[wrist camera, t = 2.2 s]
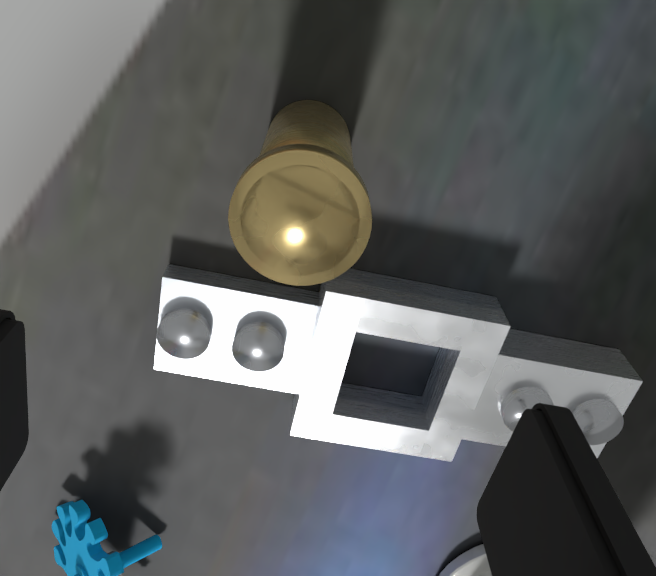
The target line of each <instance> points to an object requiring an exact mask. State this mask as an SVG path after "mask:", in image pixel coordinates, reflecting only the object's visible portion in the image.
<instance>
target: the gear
mask: <svg viewBox="0 0 656 576" xmlns="http://www.w3.org/2000/svg"><path fill="white" fill-rule="evenodd" d="M57 513H58V516H59V519H57V520H54V521H53V523H52V530H53V533H54V535H55V536H56V538H57V539H58V541H59V543H60V544H59V545H57V546H55V547H54V556H55V560H56V562H57V564H58V565H60V566H61V567H62V568H63V569H64V570H65V572H66V573H67V575H68V576H122V573H123V572H124V569H123V568H125V567H127V566H129V565H131V564H133V563H135V562H137V561H138V560H140V559H142V558H144V557H146V556H148V555H150V554H152V553H154V552H156V551H158V550H159V549H161V548H162V542H161V539H160V537H159V536H158V535H154V536H152V537H150V538H148V539H146V540H144V541H142V542H140V543H138V544H136V545H134V546H132V547H130V548H128V549H126V550H124V551H122V552H120V553H118V552H115V551H112V552H110V553H108V554H107V553H106V552H104V551H103V549H102V548H101V545H100V541H102V540H104V539H106V538H107V537H108V533H107V530H106V527H105V525H104V523H103V521H102V519H101V518H98V519H96V520H94V521H91V522H89V523H87V520H88V519H89V518H90V516H91V513H90V508H89V507H88V505H87V504H86V503H85V502H84V501H83V500H80V501H77V502H75V503H74V502H73V501H70V502H67V503H65V504H62V505H60V506H57Z"/></svg>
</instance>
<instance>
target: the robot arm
mask: <svg viewBox="0 0 656 576" xmlns="http://www.w3.org/2000/svg"><path fill="white" fill-rule="evenodd" d="M28 434H29V429H28V404H27V378H26V353H25V329H24V324H23V322H21V321H16V320H15V316H14V314H13V312H11V311H7V310H1V309H0V491H1V489H2V487H3V486H4V484H5V482H6V481H7V479H8V478H9V476H10V474H11V473H12V471H13V469H14V468H15V466H16V464H17V463H18V461H19V459H20V458H21V456H22V454H23V452H24V450H25V448H26V445H27V441H28ZM477 522H478V526H479V529H480V533H481V537H482V541H483V544H481V545H479V546H476V547H474V548H472V549H470V550H468V551H466V552H464V553H463V554H461V555H459V556H458V557H457V558H456V559H454V560H453V561H452V562H450V563H449V564H448V565H447V566H446V567H445V569H444V570H443V571H442V572H441V573H440V575H439V576H656V567H655V566H654V564H653V562H652V560H651V558H650V556H649V554H648V553H647V551H646V549H645V547H644V545H643V543H642V541H641V540H640V538H639V536H638V534H637V532H636V530H635V529H634V527H633V525H632V523H631V521H630V519H629V517H628V516H627V514H626V512H625V510H624V508H623V506H622V504H621V503H620V501H619V499H618V497H617V495H616V493H615V491H614V490H613V488H612V486H611V484H610V482H609V480H608V478H607V477H606V475H605V473H604V471H603V469H602V467H601V465H600V464H599V462H598V460H597V458H596V456H595V454H594V452H593V451H592V449H591V447H590V445H589V443H588V441H587V439H586V438H585V436H584V434H583V432H582V430H581V428H580V426H579V425H578V423H577V421H576V419H575V417H574V415H573V414H572V412H571V411H570V409H568V408H566V407H560V406H555V405H549V404H543V403H537V404H535V405H534V406H533V407H532V409H526V410H525V411H524V412H523V413H522V415H521V417H520V419H519V421H518V423H517V425H516V427H515V429H514V431H513V433H512V435H511V438H510V440H509V442H508V444H507V446H506V448H505V450H504V452H503V454H502V456H501V458H500V460H499V462H498V464H497V466H496V468H495V470H494V472H493V474H492V476H491V478H490V480H489V482H488V484H487V486H486V488H485V490H484V492H483V494H482V497H481V499H480V501H479V503H478V507H477Z"/></svg>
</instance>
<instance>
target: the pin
mask: <svg viewBox="0 0 656 576" xmlns="http://www.w3.org/2000/svg"><path fill="white" fill-rule="evenodd" d="M228 220H229V229H230V234H231V237H232V240H233V242H234V244H235V246H236V248H237V250H238V252H239V253H240V255H241V256H242V258H243V259H244V260H245V261H246V262H247V263H248V264H249V265H250V266H251V267H252V268H253V269H255V270H256V271H257V272H259V273H260V274H262V275H263V276H265V277H267V278H269V279H271V280H274V281H277V282H280V283H284V284H288V285H296V286H307V285H315V284H320V283H324V282H326V281H329V280H332V279H334V278H336V277H338V276H340V275H341V274H343V273H344V272H346V271H347V270H348V269H349V268H350V267H352V266H353V265H354V264H355V262H356V261H357V260H358V259H359V258H360V256H361V255H362V253H363V252H364V250H365V248H366V246H367V243H368V241H369V238H370V233H371V228H372V214H371V207H370V201H369V196H368V192H367V189H366V187H365V184H364V182H363V180H362V178H361V176H360V175H359V174H358V172H357V171H356V170H355V168H354V166H353V158H352V150H351V142H350V135H349V130H348V127H347V125H346V123H345V121H344V119H343V118H342V116H341V115H340V114H339V113H338V112H337V111H336V110H335V109H334V108H332V107H331V106H329V105H327V104H325V103H323V102H319V101H315V100H301V101H297V102H294V103H291V104H289V105H287V106H286V107H284V108H283V109H282V110H280V111H279V112H278V113H277V115H276V116H275V117H274V119H273V121H272V122H271V125H270V127H269V130H268V133H267V136H266V138H265V141H264V144H263V147H262V150H261V153H260V156H259V157H258V158H256V159H255V160H254V161H253V162H252V163H251V164H250V165H249V166H248V167H247V168H246V170H245V171H244V172H243V174H242V175H241V177H240V179H239V181H238V183H237V185H236V188H235V190H234V193H233V196H232V198H231V202H230V206H229V215H228Z"/></svg>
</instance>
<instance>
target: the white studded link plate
mask: <svg viewBox="0 0 656 576" xmlns="http://www.w3.org/2000/svg"><path fill="white" fill-rule="evenodd" d="M510 327H511V326H510V324H509V322H508V320H507V318H506V316H505V314H504V312H503V310H502V308H501V306H500V304H499V302H498V300H497V298H496V297H494V296H489V295H484V294H479V293H474V292H468V291H463V290H458V289H453V288H448V287H443V286H438V285H433V284H427V283H422V282H417V281H412V280H407V279H402V278H397V277H391V276H386V275H381V274H376V273H371V272H366V271H361V270H356V269H350V268H349V269H348V270H347V271H346V272H344V273H343V274H341V275H340V276H338V277H336V278H334V279H332V280H329V281H326V282H324V283H321V287H320V291H319V292H315V291H309V290H304V289H299V288H293V287H288V286H283V285H278V284H272V283H267V282H262V281H257V280H251V279H246V278H241V277H235V276H230V275H225V274H220V273H214V272H209V271H204V270H199V269H193V268H188V267H183V266H178V265H172V264H169V265H168V267H167V269H166V271H165V273H164V275H163V277H162V287H161V298H160V308H159V319H158V328H157V333H156V336H157V340H156V351H155V361H154V370H160V371H166V372H172V373H178V374H183V375H189V376H195V377H201V378H207V379H213V380H219V381H224V382H230V383H236V384H242V385H248V386H254V387H259V388H265V389H271V390H277V391H283V392H289V393H295V394H294V398H293V405H292V418H291V431H290V435H291V436H297V437H303V438H310V439H316V440H322V441H328V442H334V443H340V444H346V445H352V446H359V447H365V448H371V449H377V450H383V451H389V452H395V453H401V454H408V455H414V456H420V457H426V458H432V459H438V460H444V461H450V462H452V460H453V458H454V455H455V453H456V451H457V448H458V446H459V444H460V442H461V439H464V440H470V441H476V442H482V443H488V444H494V445H500V446H507V444H508V442H509V440H510V438H511V435H512V433H513V431H514V429H515V427H516V425H517V423H518V421H519V419H520V417H521V415H522V413H523V412H524V411H525V410H526V409H532V407H533V406H534V405H535V404H537V403H543V404H549V405H555V406H560V407H566V408H568V409H570V411H571V412H572V414H573V415H574V417H575V419H576V421H577V423H578V425H579V426H580V428H581V430H582V432H583V434H584V436H585V438H586V439H587V441H588V443H589V445H590V447H591V449H592V451H593V452H594V454H595V456H596V458H598V456H599V455H600V453H601V451H602V450H603V448H604V446H605V445H606V443H607V442H608V441H610V440H612V439H613V438H615V437H616V436H617V435H618V434H619V433H620V431H621V430H622V428H623V424H624V419H623V414H624V413H625V411H626V409H627V408H628V406H629V404H630V402H631V401H632V399H633V397H634V396H635V394H636V392H637V391H638V389H639V387H640V386H641V384H642V382H643V381H642V379H641V378H640V377H639V375H638V374H637V373H636V371H635V370H634V369H633V367H632V366H631V365H630V363H629V362H628V361H627V359H626V358H625V357H624V355H623V354H622V353H621V351H620V350H619V349H615V348H610V347H604V346H599V345H594V344H589V343H583V342H578V341H573V340H568V339H562V338H557V337H552V336H546V335H541V334H536V333H531V332H525V331H520V330H515V329H510ZM356 332H360V333H365V334H371V335H376V336H382V337H387V338H393V339H398V340H403V341H409V342H414V343H420V344H425V345H431V346H436V347H440V349H439V351H438V354H437V357H436V359H435V362H434V365H433V367H432V370H431V373H430V375H429V378H428V381H427V383H426V386H425V389H424V391H423V394H422V397H421V396H415V395H409V394H404V393H398V392H392V391H386V390H381V389H375V388H369V387H364V386H358V385H352V384H346V383H341V382H342V379H343V375H344V372H345V368H346V365H347V361H348V358H349V354H350V351H351V347H352V344H353V340H354V337H355V333H356Z"/></svg>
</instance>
